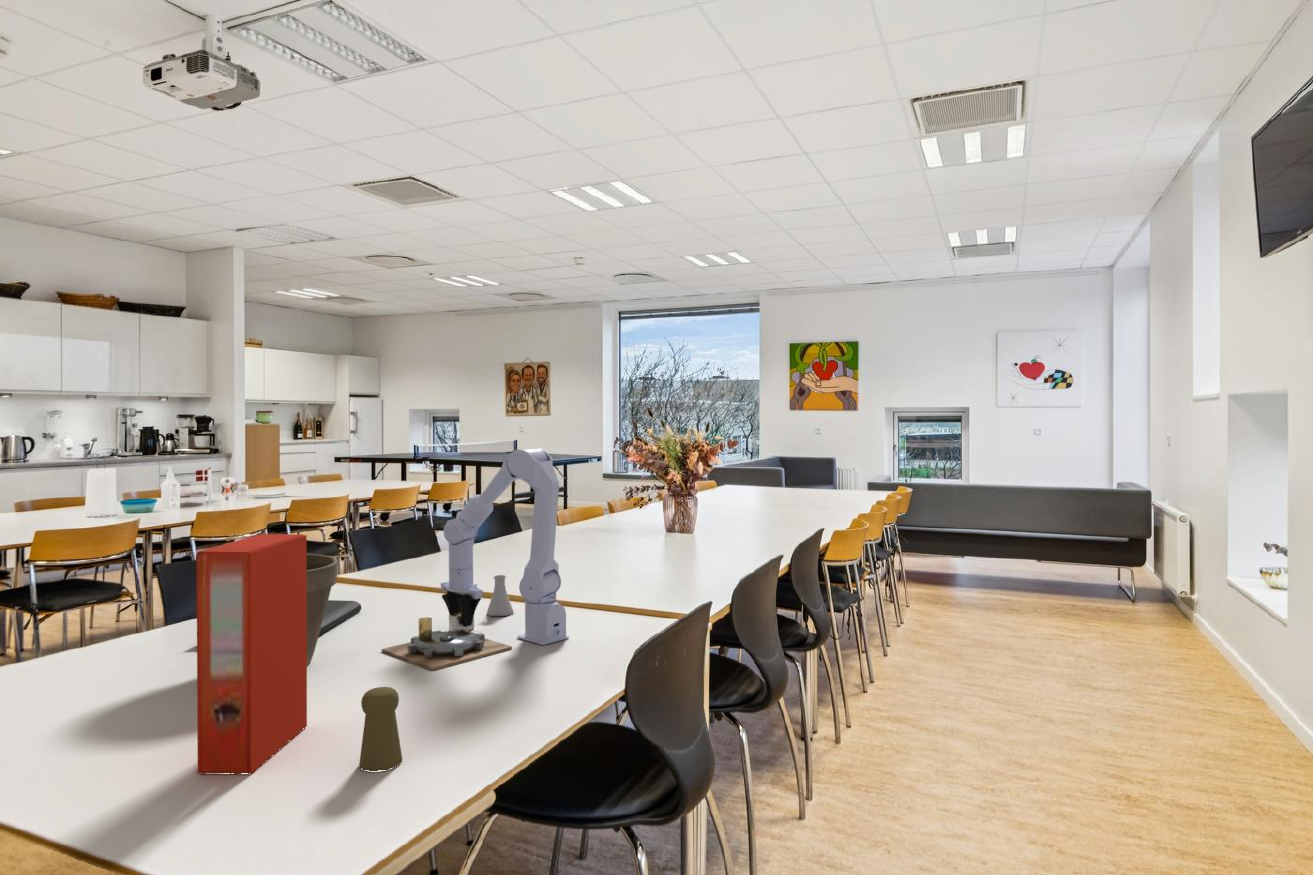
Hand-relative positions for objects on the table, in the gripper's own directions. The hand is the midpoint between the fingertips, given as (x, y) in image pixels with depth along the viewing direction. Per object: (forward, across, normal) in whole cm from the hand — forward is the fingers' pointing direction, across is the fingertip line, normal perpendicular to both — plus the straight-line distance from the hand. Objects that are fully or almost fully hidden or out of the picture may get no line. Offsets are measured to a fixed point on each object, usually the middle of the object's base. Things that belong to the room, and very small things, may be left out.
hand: (461, 624), depth 189 cm
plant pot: (+2, +5, +42) cm, 42 cm away
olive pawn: (+2, -54, +51) cm, 74 cm away
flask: (+2, +6, -16) cm, 17 cm away
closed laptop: (+2, +34, +27) cm, 44 cm away
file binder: (+2, -35, +61) cm, 70 cm away
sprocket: (+1, -12, +12) cm, 17 cm away
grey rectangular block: (+2, 0, 0) cm, 2 cm away
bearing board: (+1, -12, +12) cm, 17 cm away
